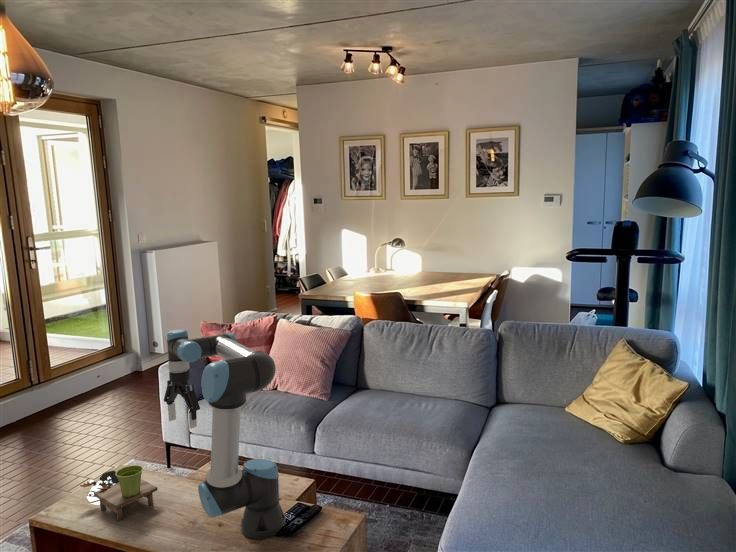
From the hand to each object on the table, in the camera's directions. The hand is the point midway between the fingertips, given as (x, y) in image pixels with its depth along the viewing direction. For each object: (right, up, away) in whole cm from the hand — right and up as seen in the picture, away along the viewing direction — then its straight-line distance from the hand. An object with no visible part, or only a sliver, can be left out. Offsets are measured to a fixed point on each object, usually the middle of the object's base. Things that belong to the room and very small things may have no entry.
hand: (182, 423), depth 207 cm
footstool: (-19, -30, -6) cm, 36 cm away
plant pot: (-16, -23, -9) cm, 30 cm away
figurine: (-31, -30, +2) cm, 43 cm away
